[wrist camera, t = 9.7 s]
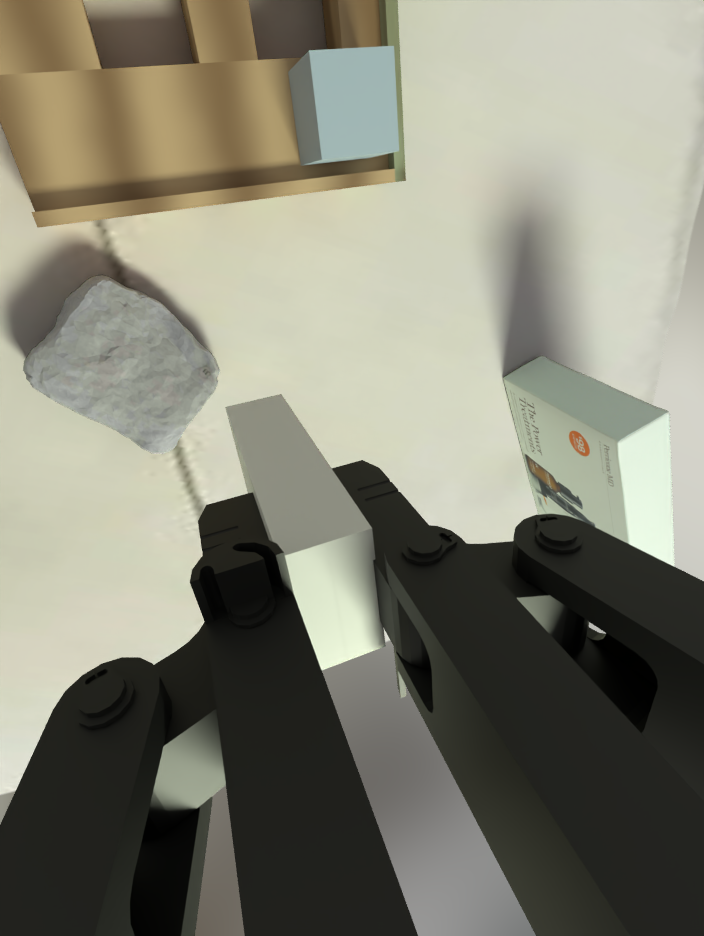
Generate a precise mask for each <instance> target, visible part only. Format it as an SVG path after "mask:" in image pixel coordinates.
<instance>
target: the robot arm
mask: <svg viewBox="0 0 704 936" xmlns="http://www.w3.org/2000/svg"><path fill="white" fill-rule="evenodd" d="M226 411H227V415H228V419H229V422H230V426H231V430H232V434H233V438H234V441H235V445H236V449H237V453H238V457H239V460H240V464H241V468H242V472H243V476H244V479H245V483H246V487H247V491H248V494H245V495H241V496H237V497H234V498H230V499H227V500H223V501H219V502H216V503H212V504H209V505H206V507H205V509H204V511H203V513H202V515H201V517H200V518H199V520H198V524H199V531H200V538H201V546H202V551H203V557H201V559H200V560H199V561H198V563H197V564H196V565H195V567H194V568H193V569H192V574H191V579H190V584H191V587H192V589H193V592H194V594H195V597H196V600H197V602H198V605H199V608H200V610H201V613H202V616H203V618H204V621H205V622H204V624H203V626H202V627H201V629H200V630H199V632H198V633H197V634H196V635H195V636H194V637H193V638H192V639H191V640H190V641H189V642H188V643H187V644H185V645H184V646H183V647H181V648H180V649H178V650H177V651H176V652H174V653H172V654H171V655H169V656H168V657H166V658H164V659H163V660H161V661H160V662H158V663H156V664H155V665H153V664H152V663H150V662H148V661H146V660H144V659H142V658H119V659H116V660H112V661H109V662H106V663H103V664H101V665H99V666H97V667H96V668H94V669H92V670H91V671H89V672H87V673H86V674H84V675H82V676H81V677H80V678H79V679H78V680H77V681H76V682H75V683H74V684H73V685H72V686H70V687H69V688H68V689H67V690H66V691H65V693H64V694H63V696H62V697H61V699H60V700H59V702H58V703H57V705H56V706H55V708H54V709H53V711H52V713H51V716H50V718H49V720H48V722H47V724H46V726H45V729H44V731H43V733H42V735H41V737H40V740H39V742H38V744H37V746H36V748H35V750H34V753H33V755H32V757H31V759H30V761H29V763H28V766H27V768H26V770H25V772H24V774H23V776H22V779H21V781H20V783H19V785H18V787H17V790H16V792H15V794H14V796H13V798H12V800H11V803H10V805H9V807H8V809H7V811H6V814H5V816H4V818H3V820H2V822H1V825H0V936H195V929H196V921H197V914H198V906H199V899H200V891H201V883H202V876H203V868H204V860H205V853H206V845H207V837H208V830H209V822H210V814H211V807H212V796H213V795H214V794H215V793H216V792H217V791H219V790H220V789H221V788H223V787H224V786H225V785H226V789H227V797H228V805H229V813H230V821H231V829H232V837H233V845H234V853H235V861H236V868H237V877H238V885H239V893H240V900H241V909H242V917H243V925H244V933H245V936H418V935H417V932H416V929H415V926H414V923H413V921H412V918H411V915H410V912H409V910H408V907H407V904H406V902H405V899H404V896H403V893H402V890H401V888H400V885H399V882H398V879H397V877H396V874H395V871H394V868H393V866H392V863H391V860H390V857H389V855H388V852H387V849H386V847H385V844H384V841H383V838H382V835H381V833H380V830H379V827H378V824H377V822H376V819H375V817H374V813H373V811H372V808H371V805H370V802H369V800H368V797H367V794H366V791H365V789H364V786H363V783H362V780H361V778H360V775H359V772H358V769H357V767H356V764H355V761H354V759H353V755H352V753H351V750H350V747H349V745H348V742H347V739H346V736H345V734H344V731H343V728H342V726H341V722H340V720H339V717H338V714H337V712H336V709H335V706H334V703H333V700H332V698H331V695H330V692H329V690H328V687H327V684H326V681H325V678H324V676H323V673H322V670H324V669H326V668H329V667H332V666H335V665H337V664H340V663H342V662H345V661H347V660H350V659H353V658H356V657H358V656H361V655H363V654H366V653H369V652H371V651H374V650H377V649H379V648H382V647H384V646H385V638H384V629H385V631H386V633H387V635H388V636H389V638H390V640H391V642H392V644H393V645H394V653H395V664H396V674H397V683H398V689H399V693H400V697H401V698H402V697H405V696H406V687H407V689H408V691H409V693H410V694H411V696H412V698H413V700H414V702H415V704H416V706H417V708H418V710H419V712H420V714H421V716H422V717H423V719H424V721H425V723H426V725H427V727H428V729H429V731H430V733H431V735H432V737H433V739H434V740H435V742H436V744H437V746H438V748H439V750H440V752H441V754H442V756H443V757H444V760H445V761H446V764H447V765H448V767H449V769H450V771H451V773H452V775H453V777H454V779H455V781H456V783H457V785H458V787H459V789H460V790H461V792H462V794H463V796H464V798H465V800H466V802H467V804H468V806H469V807H470V810H471V811H472V813H473V815H474V817H475V819H476V821H477V823H478V825H479V827H480V829H481V831H482V833H483V834H484V836H485V838H486V840H487V842H488V844H489V846H490V848H491V850H492V852H493V854H494V856H495V858H496V860H497V861H498V863H499V865H500V867H501V869H502V871H503V873H504V875H505V877H506V879H507V881H508V882H509V884H510V886H511V888H512V890H513V892H514V894H515V896H516V898H517V900H518V902H519V904H520V906H521V907H522V909H523V911H524V913H525V915H526V917H527V919H528V921H529V923H530V925H531V927H532V928H533V931H534V932H535V934H536V936H704V581H702V580H700V579H698V578H696V577H694V576H692V575H690V574H688V573H686V572H684V571H682V570H680V569H678V568H676V567H674V566H672V565H670V564H668V563H666V562H664V561H662V560H660V559H658V558H656V557H654V556H652V555H650V554H648V553H646V552H644V551H642V550H640V549H638V548H636V547H634V546H632V545H630V544H628V543H626V542H624V541H622V540H620V539H618V538H616V537H614V536H612V535H610V534H608V533H606V532H604V531H602V530H600V529H598V528H596V527H594V526H592V525H590V524H588V523H586V522H584V521H581V520H578V519H576V518H573V517H570V516H566V515H559V514H541V515H534V516H532V517H529V518H526V519H524V520H523V521H522V522H521V523H520V524H518V525H517V526H516V529H515V533H514V541H512V542H500V543H488V544H466V543H465V542H464V541H463V540H462V538H460V537H459V536H458V535H456V534H455V533H453V532H452V531H451V530H448V529H445V528H441V527H438V526H429V525H428V524H427V523H426V521H425V520H424V519H423V518H422V517H421V516H420V514H419V513H418V512H417V511H416V510H415V509H414V508H413V506H412V505H411V504H410V503H409V502H408V501H407V499H406V498H405V497H404V496H403V495H402V494H401V492H398V489H397V488H396V487H395V486H394V484H393V483H392V482H390V480H389V479H388V477H387V476H386V475H385V474H384V473H383V472H382V470H381V469H380V468H378V467H376V466H374V465H372V464H369V463H367V462H365V461H363V460H361V461H358V462H354V463H350V464H347V465H343V466H339V467H336V468H331V467H330V465H329V464H328V463H327V461H326V460H325V458H324V457H323V455H322V454H321V452H320V451H319V449H318V448H317V446H316V445H315V443H314V442H313V440H312V439H311V437H310V436H309V434H308V433H307V432H306V430H305V429H304V427H303V426H302V424H301V423H300V421H299V420H298V418H297V417H296V415H295V414H294V412H293V411H292V409H291V408H290V406H289V405H288V403H287V402H286V401H285V399H284V398H283V396H282V395H281V394H280V395H276V396H271V397H267V398H263V399H258V400H254V401H250V402H245V403H241V404H237V405H233V406H228V407H226ZM589 622H590V623H592V624H593V625H595V626H597V627H598V628H600V629H601V630H603V631H604V632H606V634H603V633H598V632H597V631H595V630H593V629H591V628H589V627H588V626H589ZM383 627H384V629H383Z"/></svg>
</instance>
